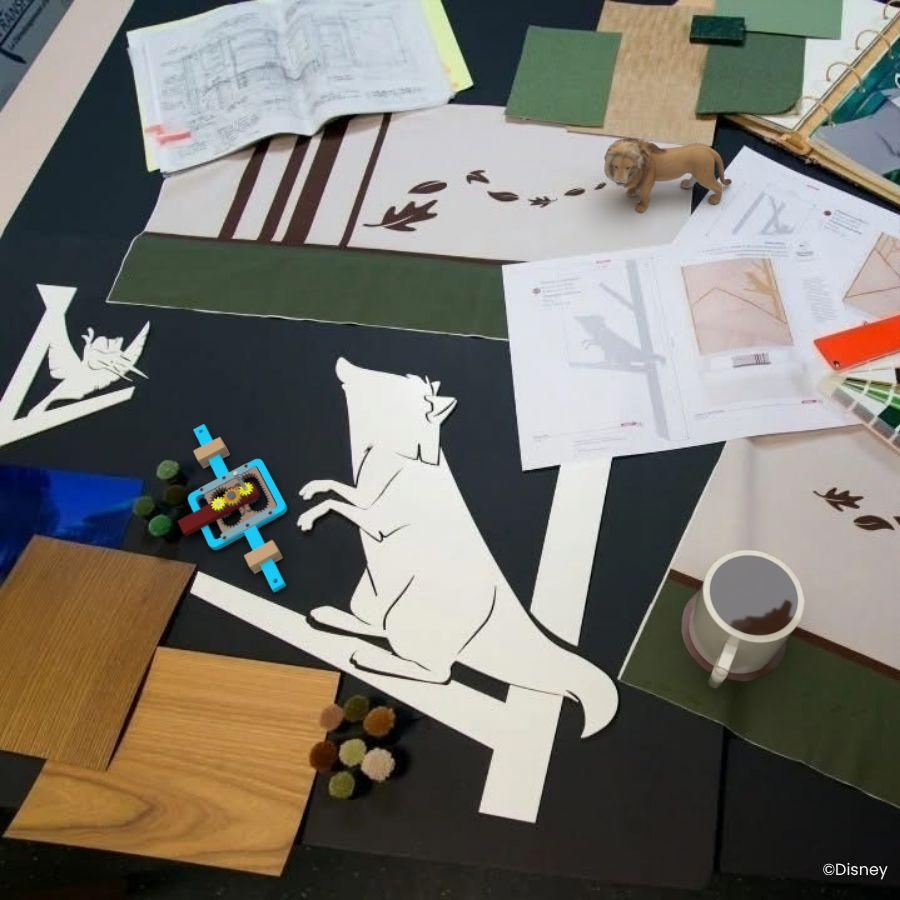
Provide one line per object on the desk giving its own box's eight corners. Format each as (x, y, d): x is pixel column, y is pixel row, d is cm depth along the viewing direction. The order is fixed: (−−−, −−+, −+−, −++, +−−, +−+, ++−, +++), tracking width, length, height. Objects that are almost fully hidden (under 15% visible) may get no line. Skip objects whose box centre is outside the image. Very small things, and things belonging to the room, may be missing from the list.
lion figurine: (607, 228, 95) (612, 164, 87) (595, 195, 98) (598, 130, 90) (738, 201, 95) (754, 134, 87) (721, 168, 98) (736, 101, 90)
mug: (707, 574, 73) (722, 534, 66) (792, 610, 70) (818, 573, 63) (664, 674, 69) (676, 642, 62) (753, 716, 67) (776, 688, 60)
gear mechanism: (226, 621, 76) (320, 569, 78) (205, 600, 72) (305, 544, 73) (152, 458, 86) (237, 414, 88) (130, 429, 81) (219, 384, 83)
